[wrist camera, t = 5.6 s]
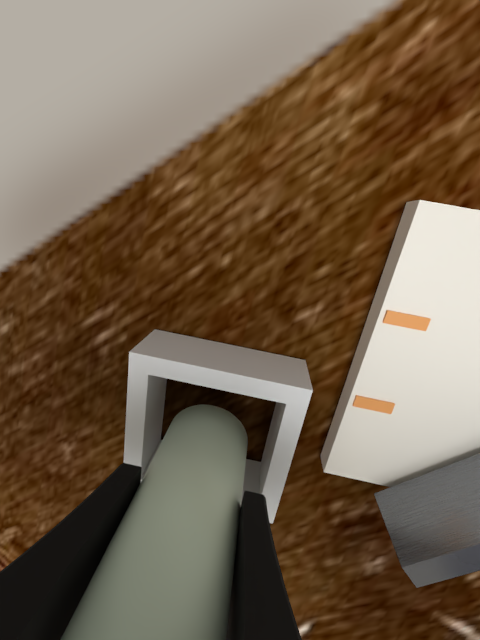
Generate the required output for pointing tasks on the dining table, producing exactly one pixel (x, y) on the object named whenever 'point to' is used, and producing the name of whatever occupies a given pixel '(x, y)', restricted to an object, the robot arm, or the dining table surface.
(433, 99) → the dining table surface
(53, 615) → the robot arm
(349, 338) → the dining table surface
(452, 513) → the dial lever
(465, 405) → the dial panel
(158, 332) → the tool holder
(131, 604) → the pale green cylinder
